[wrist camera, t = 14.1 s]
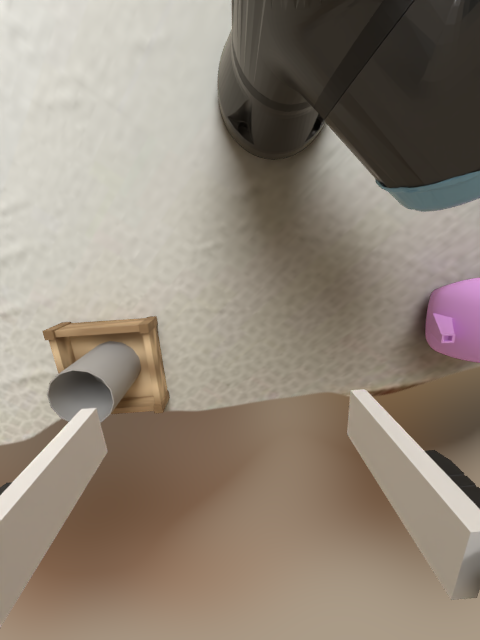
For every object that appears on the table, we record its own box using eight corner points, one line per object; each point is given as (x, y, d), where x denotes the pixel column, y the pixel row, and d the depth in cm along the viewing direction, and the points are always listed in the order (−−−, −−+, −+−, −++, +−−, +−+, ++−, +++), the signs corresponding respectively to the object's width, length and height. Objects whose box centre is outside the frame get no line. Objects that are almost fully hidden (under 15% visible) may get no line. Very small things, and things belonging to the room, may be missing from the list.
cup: (118, 394, 43) (85, 436, 33) (79, 363, 41) (33, 398, 32) (151, 364, 42) (127, 399, 32) (112, 331, 40) (75, 357, 30)
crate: (62, 322, 40) (42, 331, 36) (156, 316, 40) (147, 324, 36) (84, 403, 44) (69, 419, 40) (169, 397, 45) (163, 412, 40)
